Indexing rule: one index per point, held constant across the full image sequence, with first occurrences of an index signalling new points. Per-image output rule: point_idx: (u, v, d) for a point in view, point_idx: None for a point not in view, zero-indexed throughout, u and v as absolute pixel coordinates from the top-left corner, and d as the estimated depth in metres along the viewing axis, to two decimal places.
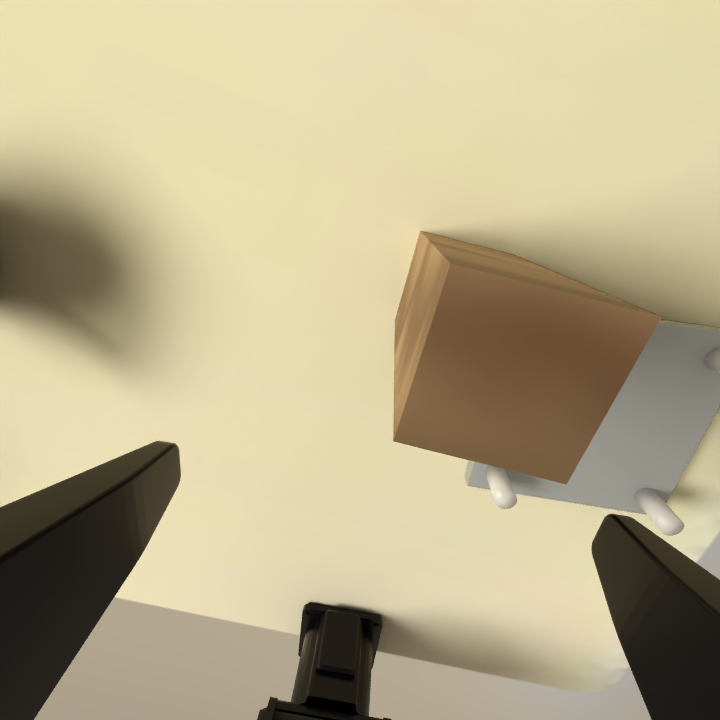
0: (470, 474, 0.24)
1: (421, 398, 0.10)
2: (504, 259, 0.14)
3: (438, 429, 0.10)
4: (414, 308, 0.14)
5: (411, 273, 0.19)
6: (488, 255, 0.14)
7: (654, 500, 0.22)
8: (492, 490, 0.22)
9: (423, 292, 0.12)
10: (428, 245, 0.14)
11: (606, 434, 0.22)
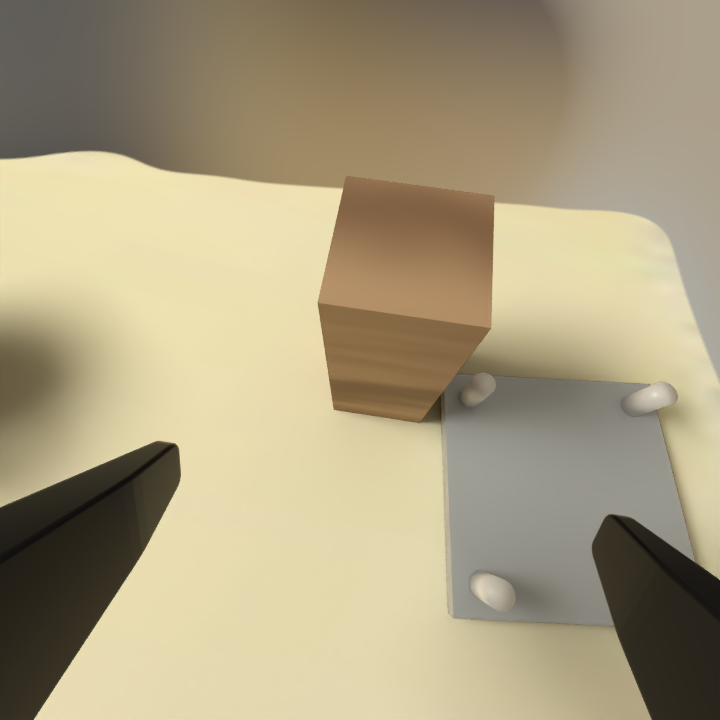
0: (451, 596, 0.18)
1: (339, 262, 0.12)
2: None
3: (358, 287, 0.11)
4: None
5: None
6: None
7: None
8: (481, 591, 0.16)
9: None
10: None
11: (582, 505, 0.19)
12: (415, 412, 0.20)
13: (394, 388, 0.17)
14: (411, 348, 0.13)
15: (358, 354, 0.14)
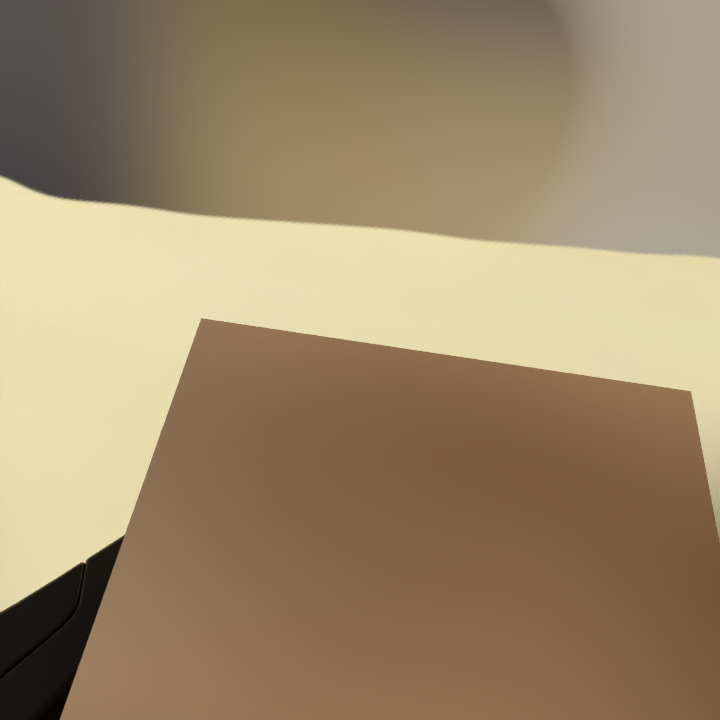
0: None
1: None
2: None
3: None
4: None
5: None
6: None
7: None
8: None
9: None
10: None
11: None
12: None
13: None
14: None
15: None
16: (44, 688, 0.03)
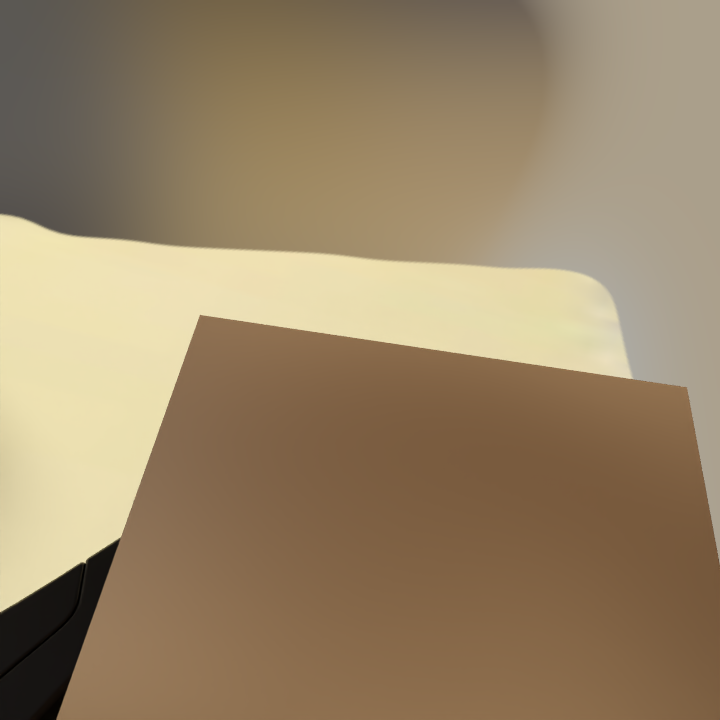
0: None
1: None
2: None
3: None
4: None
5: None
6: None
7: None
8: None
9: None
10: None
11: None
12: None
13: None
14: None
15: None
16: (44, 688, 0.03)
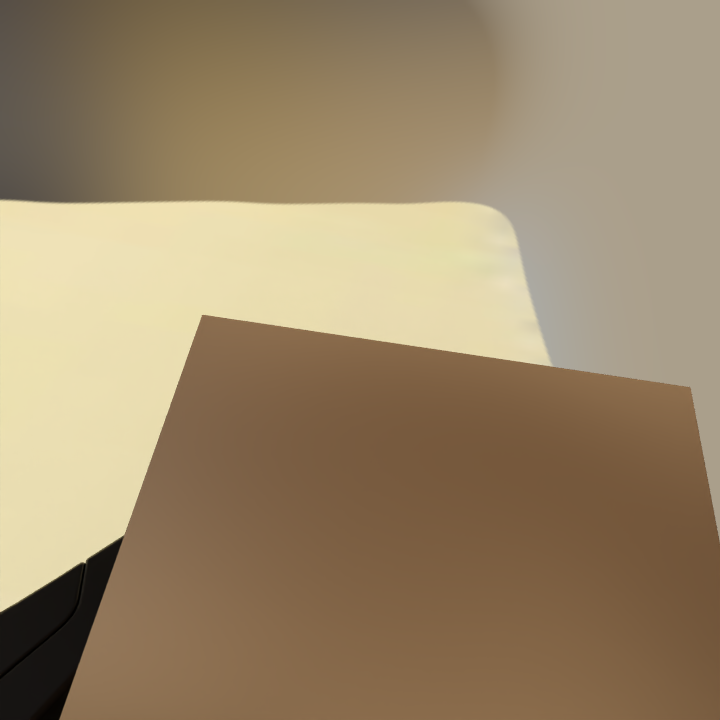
0: None
1: None
2: None
3: None
4: None
5: None
6: None
7: None
8: None
9: None
10: None
11: None
12: None
13: None
14: None
15: None
16: (44, 688, 0.03)
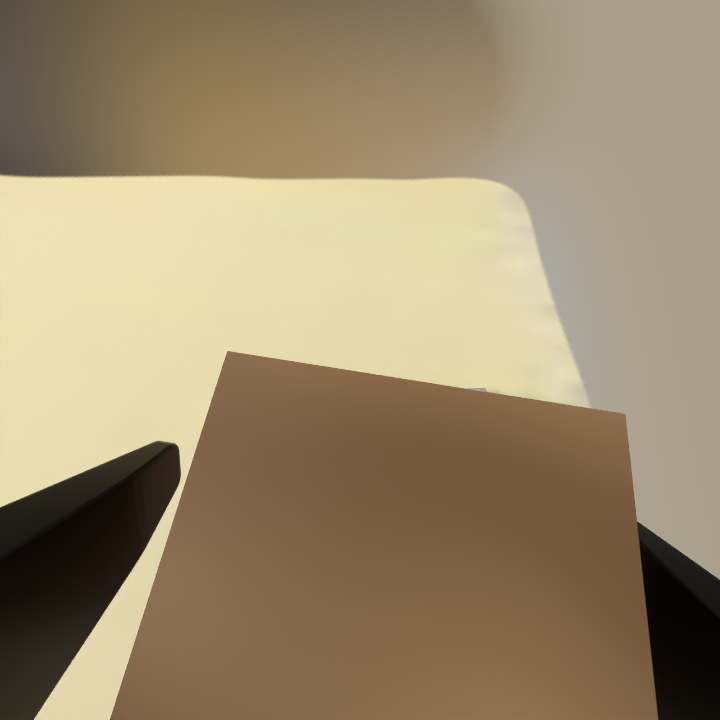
0: None
1: (156, 700, 0.04)
2: None
3: None
4: None
5: None
6: None
7: None
8: None
9: None
10: None
11: None
12: None
13: None
14: None
15: None
16: None
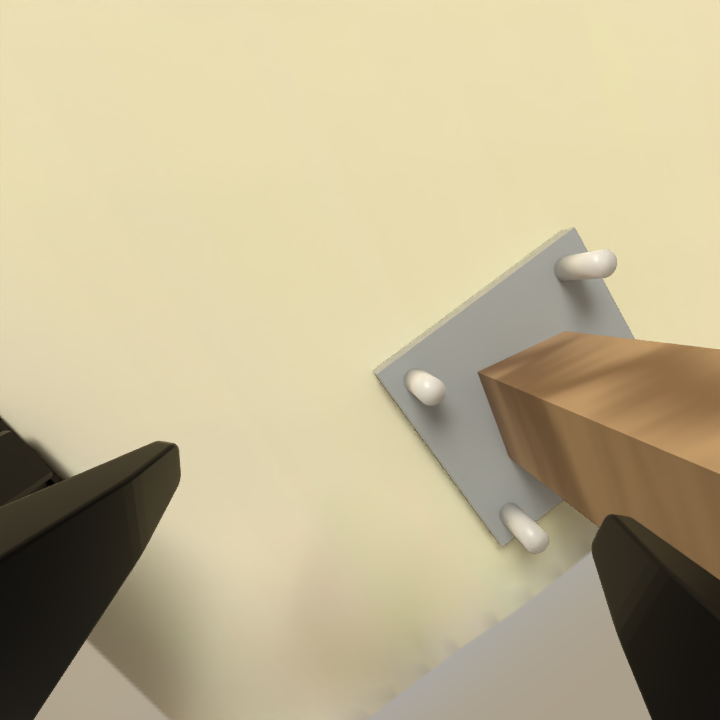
0: (389, 363, 0.18)
1: None
2: None
3: None
4: (666, 380, 0.12)
5: (558, 351, 0.17)
6: None
7: (525, 514, 0.19)
8: (419, 378, 0.17)
9: None
10: (677, 346, 0.13)
11: None
12: (527, 464, 0.18)
13: (568, 469, 0.14)
14: (683, 546, 0.10)
15: (627, 468, 0.11)
16: None
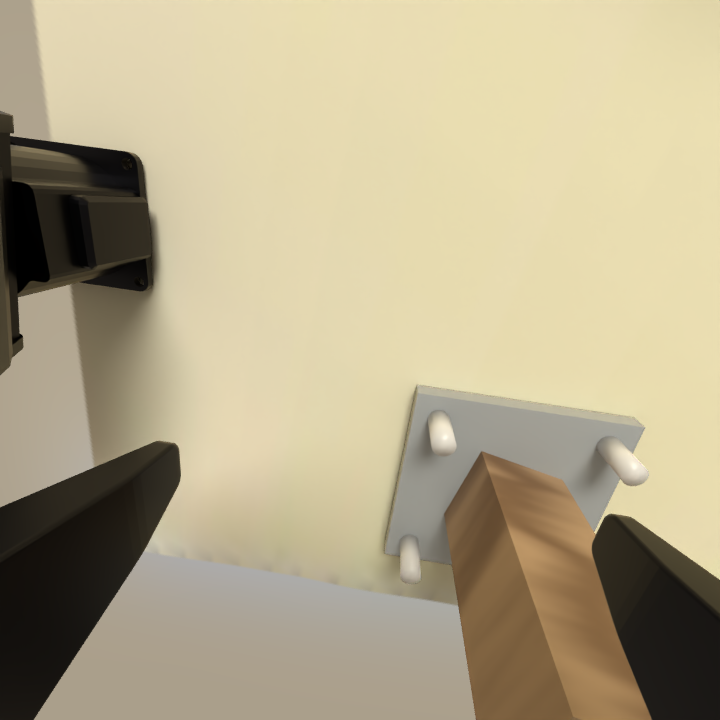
0: (432, 394, 0.20)
1: None
2: None
3: None
4: (589, 594, 0.14)
5: (545, 494, 0.20)
6: None
7: (419, 553, 0.23)
8: (444, 428, 0.19)
9: None
10: None
11: None
12: (452, 533, 0.21)
13: (476, 571, 0.17)
14: (500, 684, 0.13)
15: (514, 619, 0.14)
16: None
